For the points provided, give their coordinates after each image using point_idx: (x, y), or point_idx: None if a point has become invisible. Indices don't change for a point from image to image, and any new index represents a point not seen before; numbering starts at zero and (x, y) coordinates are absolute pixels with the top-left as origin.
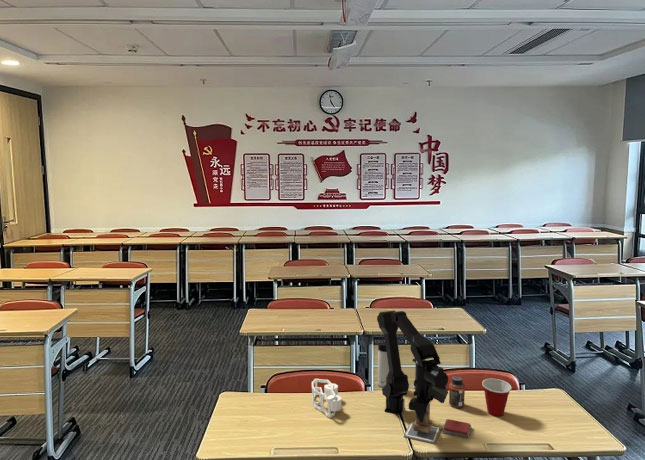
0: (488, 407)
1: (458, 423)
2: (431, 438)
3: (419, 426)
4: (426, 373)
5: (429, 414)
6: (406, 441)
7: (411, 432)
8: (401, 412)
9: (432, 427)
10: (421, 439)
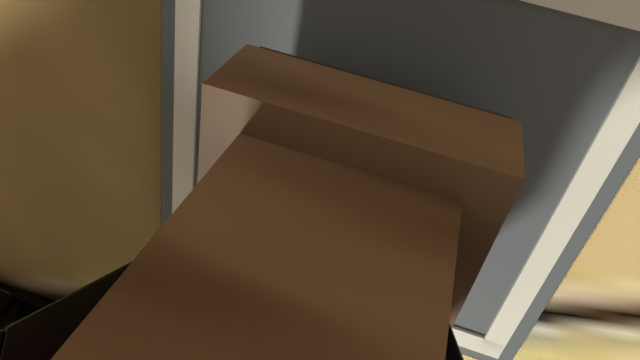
0: None
1: None
2: (566, 49)
3: (458, 303)
4: None
5: (193, 229)
6: (609, 347)
7: None
8: (26, 295)
9: (204, 6)
10: (604, 202)
